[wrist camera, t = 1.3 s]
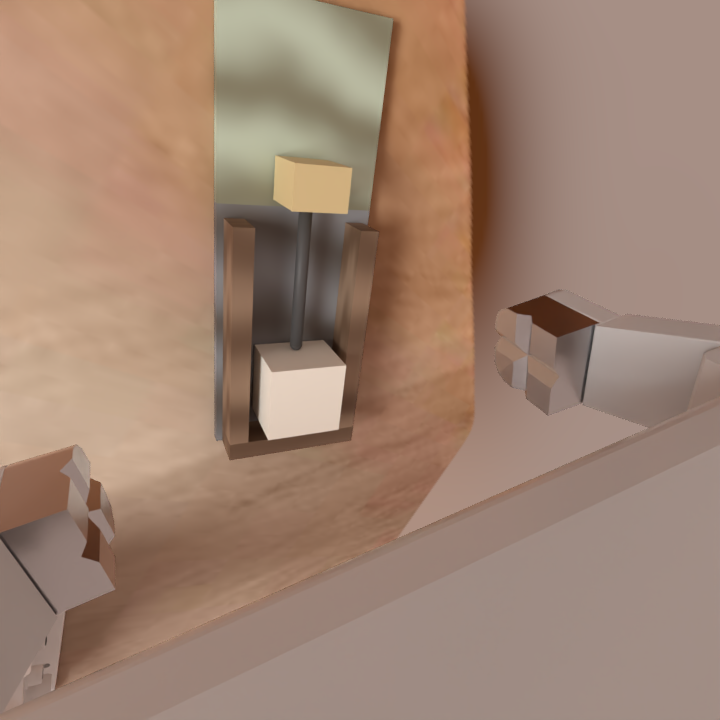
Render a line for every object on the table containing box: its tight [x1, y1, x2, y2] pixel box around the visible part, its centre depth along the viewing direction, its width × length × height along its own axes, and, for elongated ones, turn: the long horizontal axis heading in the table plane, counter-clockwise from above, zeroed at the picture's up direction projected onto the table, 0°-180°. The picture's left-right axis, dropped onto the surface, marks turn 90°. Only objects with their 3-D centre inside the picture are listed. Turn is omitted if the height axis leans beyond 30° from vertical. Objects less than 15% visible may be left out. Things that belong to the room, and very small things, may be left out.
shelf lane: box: [214, 0, 393, 460], centre depth 39 cm, size 33×12×4 cm, turn 173°
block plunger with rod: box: [252, 155, 352, 440], centre depth 39 cm, size 20×6×5 cm, turn 173°
